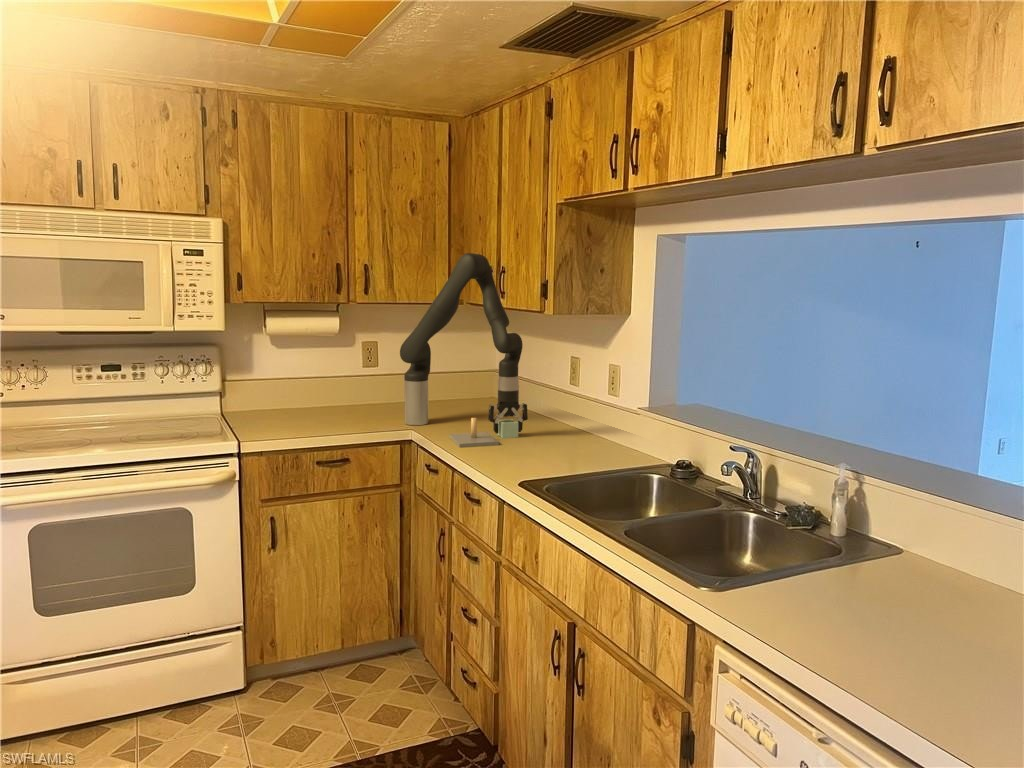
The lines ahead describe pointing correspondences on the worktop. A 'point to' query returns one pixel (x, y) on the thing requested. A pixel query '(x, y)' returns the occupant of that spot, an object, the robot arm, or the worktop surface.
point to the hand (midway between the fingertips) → (507, 432)
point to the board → (473, 442)
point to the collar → (508, 428)
